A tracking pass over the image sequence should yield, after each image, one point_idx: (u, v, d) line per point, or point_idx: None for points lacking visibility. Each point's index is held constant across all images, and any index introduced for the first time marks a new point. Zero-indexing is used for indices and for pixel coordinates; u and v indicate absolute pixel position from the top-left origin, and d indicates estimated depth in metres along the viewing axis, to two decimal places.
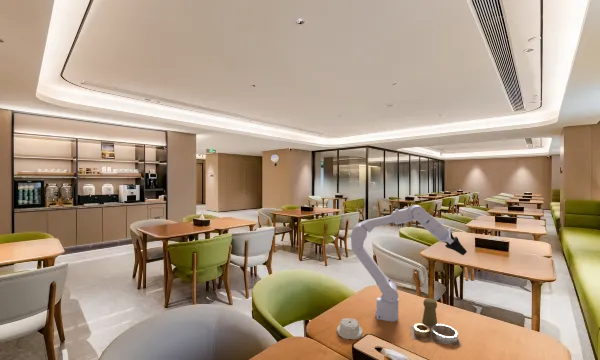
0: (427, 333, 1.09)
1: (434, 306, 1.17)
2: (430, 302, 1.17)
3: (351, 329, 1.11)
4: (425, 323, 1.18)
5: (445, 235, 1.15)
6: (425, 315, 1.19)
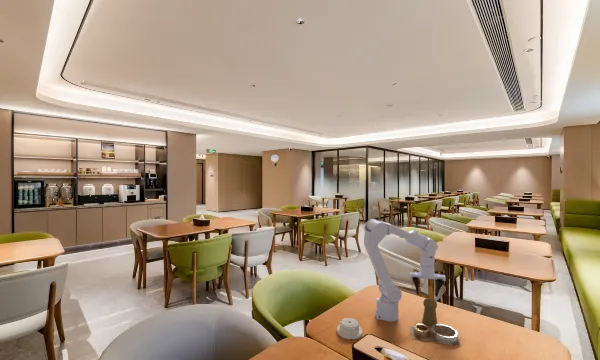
0: (427, 333, 1.09)
1: (434, 306, 1.17)
2: (430, 302, 1.17)
3: (351, 329, 1.11)
4: (425, 323, 1.18)
5: None
6: (425, 315, 1.19)
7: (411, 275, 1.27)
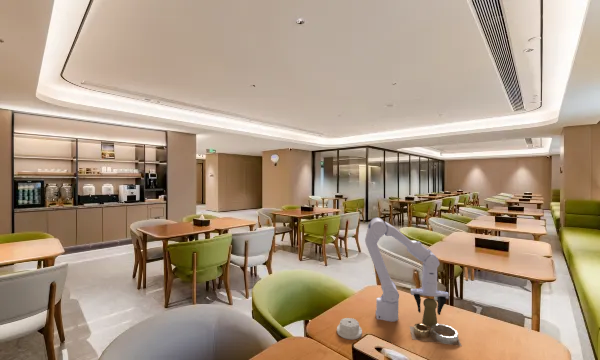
0: (427, 333, 1.09)
1: (434, 306, 1.17)
2: (430, 302, 1.17)
3: (351, 329, 1.11)
4: (425, 323, 1.18)
5: None
6: (425, 315, 1.19)
7: (413, 292, 1.22)
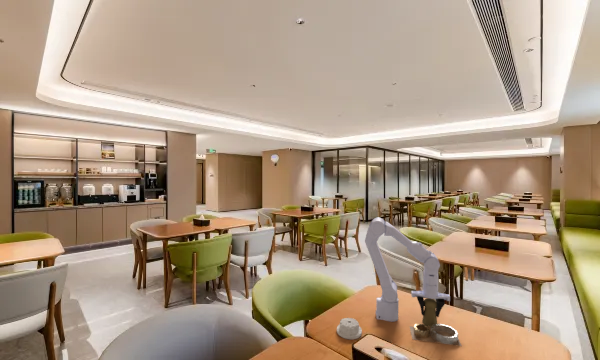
0: (427, 333, 1.09)
1: (434, 306, 1.17)
2: (430, 302, 1.17)
3: (351, 329, 1.11)
4: (425, 323, 1.18)
5: None
6: (425, 315, 1.19)
7: (413, 294, 1.20)
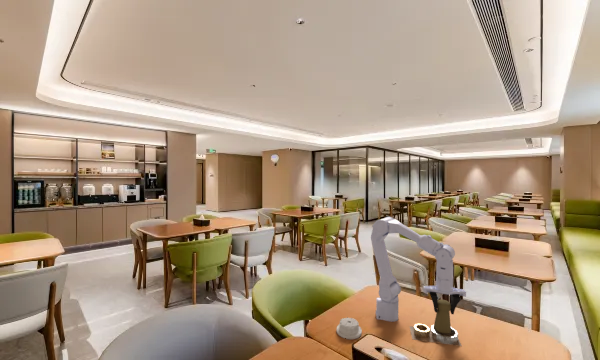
0: (427, 333, 1.09)
1: (449, 308, 1.08)
2: (445, 304, 1.08)
3: (350, 329, 1.11)
4: (438, 326, 1.09)
5: None
6: (438, 318, 1.10)
7: (426, 289, 1.10)
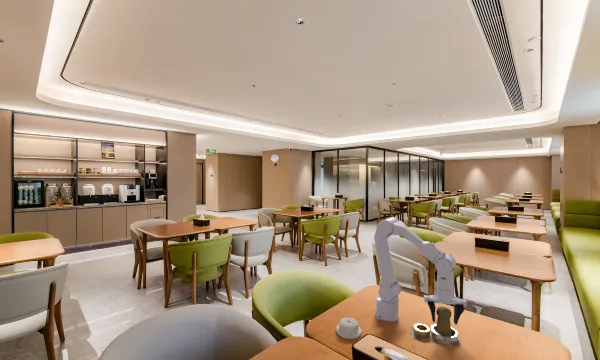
0: (427, 333, 1.09)
1: (449, 315, 1.08)
2: (445, 311, 1.08)
3: (350, 328, 1.11)
4: None
5: None
6: (439, 325, 1.09)
7: (426, 299, 1.10)
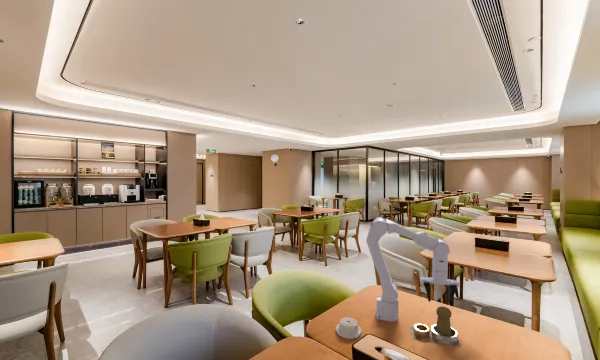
0: (427, 333, 1.09)
1: (449, 315, 1.08)
2: (445, 311, 1.08)
3: (350, 328, 1.12)
4: None
5: None
6: (439, 325, 1.09)
7: (422, 280, 1.19)
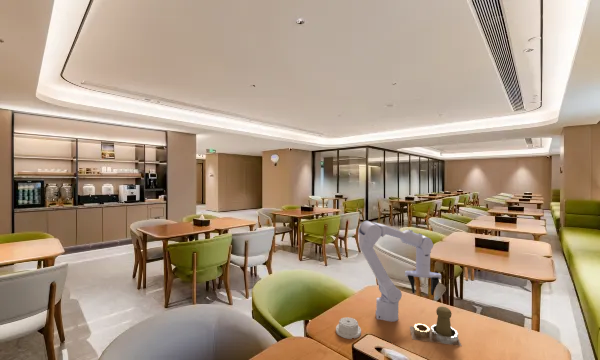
0: (427, 333, 1.09)
1: (449, 315, 1.08)
2: (445, 311, 1.08)
3: (350, 328, 1.12)
4: None
5: None
6: (439, 325, 1.09)
7: (407, 273, 1.27)
